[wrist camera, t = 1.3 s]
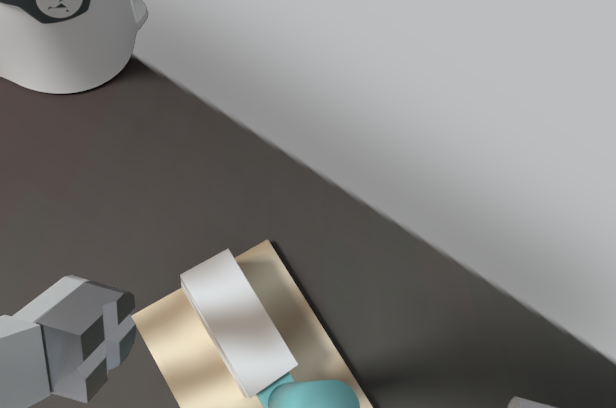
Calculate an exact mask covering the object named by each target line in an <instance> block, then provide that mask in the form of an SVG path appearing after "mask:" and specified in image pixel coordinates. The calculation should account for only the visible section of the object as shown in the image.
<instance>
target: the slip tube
mask: <svg viewBox="0 0 616 408" xmlns="http://www.w3.org/2000/svg"><path fill="white" fill-rule="evenodd" d="M256 396H257V397H258V399H259V401H260V403H261V404H262V406H263V408H360V404H359V400H358V397H357V395H356V394H355V392H354V391H353V389H352V388H351V387H350V386H349V385H347V384H346V383H344V382H342V381H339V380H321V381H309V382H297V383H295V382H294V380H293V378H292V377H291V375H290V373H289V372H287V373H286V374H284V375H283V376H281V377H280V378H278V379H277V380H276V381H274V382H273V383H271V384H270V385H268V386H267V387H266V388H264V389H263V390H261V391H260V392H258V393H257V394H256Z"/></svg>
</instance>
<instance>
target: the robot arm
mask: <svg viewBox="0 0 616 408" xmlns="http://www.w3.org/2000/svg"><path fill="white" fill-rule="evenodd" d="M147 17H148V11H147V7H146V5H145V4H144V3H143V1H142V0H0V77H3V78H6V79H8V80H10V81H12V82H15V83H17V84H19V85H21V86H23V87H26V88H29V89H32V90H35V91H40V92H45V93H55V94H65V93H75V92H81V91H85V90H89V89H92V88H94V87H97V86H99V85H101V84H103V83H105V82H107V81H109V80H110V79H112V78H113V77H114V76H116V75H117V74H118V73H119V72H120V71H121V70H122V69H123V68H124V66H125V65H126V64H127V62H128V61H129V59H130V57H131V55H132V52H133V48H134V43H135V37H136V34H137V31H138V30H139V29H140V28H141V27H142V25H143V24H144V23H145V21H146V19H147ZM134 308H135V300H134V295H133V294H132V293H130V292H128V291H125V290H121V289H118V288H115V287H111V286H108V285H105V284H101V283H98V282H95V281H89V280H86V279H83V278H80V277H76V276H73V275H70V276H65V277H63V278H62V279H61V280H59V281H58V282H57V283H55V284H54V285H53V286H51V287H50V288H49V289H47V290H46V291H45V292H43V293H42V294H41V295H39V296H38V297H37V298H36V299H34V300H33V301H32V302H30V303H29V304H28V305H26V306H25V307H24V308H22V309H21V310H20V311H18V312H17V313H16V314H14V315H13V316H12V317H11V316H8V315H3V316H0V408H28V407H29V406H31V405H33V404H35V403H37V402H39V401H41V400H43V399H44V398H46V397H48V396H50V395H51V394H50V393H53V394H56V395H60V396H63V397H67V398H70V399H74V400H77V401H81V402H84V403H88V402H89V401H90V400H91V399H92V398H93V396H94V395H95V394H96V393H97V392H98V391H99V389H100V388H101V387H102V386H103V385H104V384H105V382H106V381H107V380H108V375H107V370H110V369H112V368H114V367H117V366H119V365H121V363H122V362H123V361H124V360H125V358H126V357H127V356H128V354H129V352H130V350H131V348H132V346H133V344H134V340H135V335H136V323H135V322H134V320H133V319H132V317H131V316H130V313H131V312H132V310H133V309H134ZM507 408H557V407H553V406H550V405H546V404H542V403H538V402H535V401H531V400H527V399H523V398H519V397H516V396H514V398H513V399H512V400H511V401H510V403H509V405H508V407H507Z"/></svg>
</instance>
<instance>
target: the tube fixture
mask: <svg viewBox="0 0 616 408" xmlns="http://www.w3.org/2000/svg"><path fill="white" fill-rule="evenodd" d="M180 277H181V286H182V288H180V289H178V290H177V291H175V292H173V293H171V294H170V295H168V296H166V297H164V298H162V299H161V300H159V301H157V302H155V303H154V304H152V305H150V306H148V307H146V308H145V309H143V310H141V311H139V312H137V313H136V314H134V315H132V316H131V317H132V319H133V320H134V322H135V323H136V326H137V328H138V330H139V332H140V333H141V335H142V337H143V339H144V341H145V343H146V345H147V346H148V348H149V350H150V352H151V354H152V356H153V358H154V359H155V361H156V363H157V365H158V367H159V369H160V371H161V372H162V374H163V376H164V378H165V380H166V382H167V384H168V385H169V387H170V389H171V391H172V393H173V395H174V397H175V398H176V400H177V402H178V404H179V406H180V408H263V406H262V404H261V403H260V401H259V399H258V397H257V396H256V394H257V393H258V392H260V391H261V390H263V389H264V388H266V387H267V386H268V385H270V384H271V383H273V382H274V381H276V380H277V379H278V378H280V377H281V376H283V375H284V374H286V373H287V372H289V373H290V375H291V377H292V378H293V380H294V382H295V383H297V382H309V381H321V380H339V381H342V382H344V383H346V384H347V385H349V386H350V387H351V388H352V389H353V391H354V392H355V394H356V395H357V397H358V400H359V404H360V408H373V407H372V405H371V404H370V402H369V401H368V399H367V397H366V396H365V394H364V393H363V391H362V389H361V388H360V386H359V385H358V383H357V381H356V380H355V378H354V377H353V375H352V373H351V372H350V370H349V369H348V367H347V365H346V364H345V362H344V361H343V359H342V357H341V356H340V354H339V353H338V351H337V349H336V348H335V346H334V345H333V343H332V341H331V340H330V338H329V337H328V335H327V333H326V332H325V330H324V329H323V327H322V325H321V324H320V322H319V321H318V319H317V317H316V316H315V314H314V313H313V311H312V309H311V308H310V306H309V305H308V303H307V301H306V300H305V298H304V297H303V295H302V293H301V292H300V290H299V289H298V287H297V285H296V284H295V282H294V281H293V279H292V277H291V276H290V274H289V273H288V271H287V269H286V268H285V266H284V265H283V263H282V261H281V260H280V258H279V257H278V255H277V253H276V252H275V250H274V249H273V247H272V245H271V244H270V242H269V241H268V240H266V241H264V242H262V243H260V244H259V245H257V246H255V247H253V248H252V249H250V250H248V251H246V252H244V253H243V254H241V255H239V256H237V257H236V258H234V257H233V256H232V254H231V252H230V251H229V249H227V250H225V251H223V252H221V253H219V254H217V255H216V256H214V257H212V258H210V259H208V260H206V261H205V262H203V263H201V264H199V265H197V266H196V267H194V268H192V269H190V270H188V271H186V272H185V273H183V274H181V275H180Z"/></svg>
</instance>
